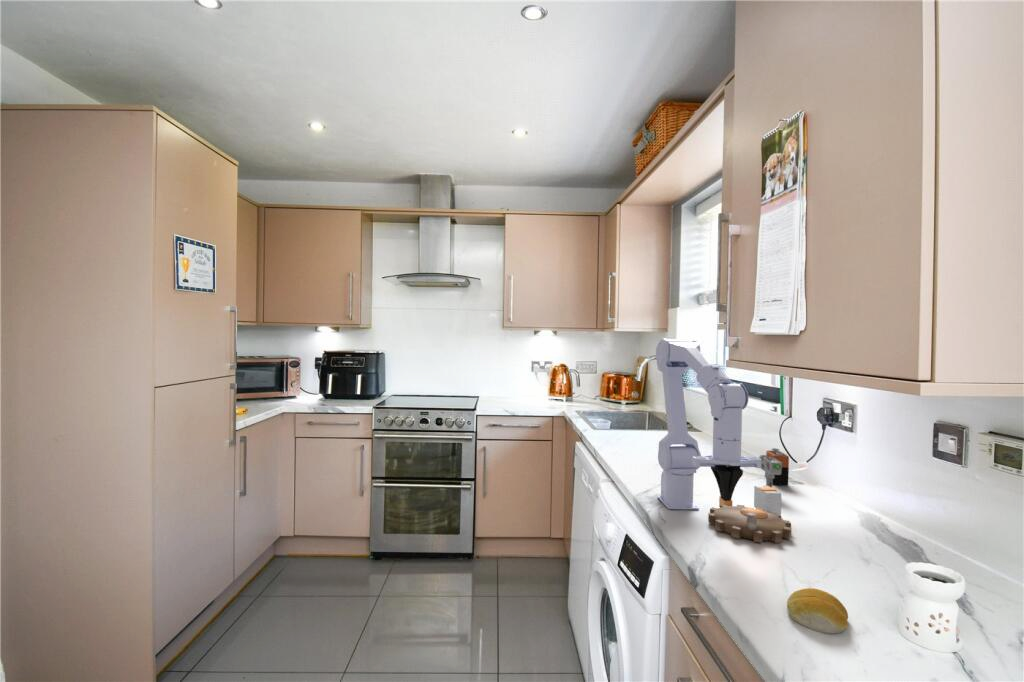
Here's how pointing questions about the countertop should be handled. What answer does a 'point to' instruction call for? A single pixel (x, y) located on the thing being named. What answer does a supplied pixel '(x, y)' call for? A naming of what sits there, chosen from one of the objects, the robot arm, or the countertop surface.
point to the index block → (724, 502)
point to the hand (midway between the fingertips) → (725, 499)
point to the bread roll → (818, 610)
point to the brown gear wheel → (749, 523)
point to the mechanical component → (770, 468)
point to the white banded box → (767, 499)
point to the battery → (784, 460)
